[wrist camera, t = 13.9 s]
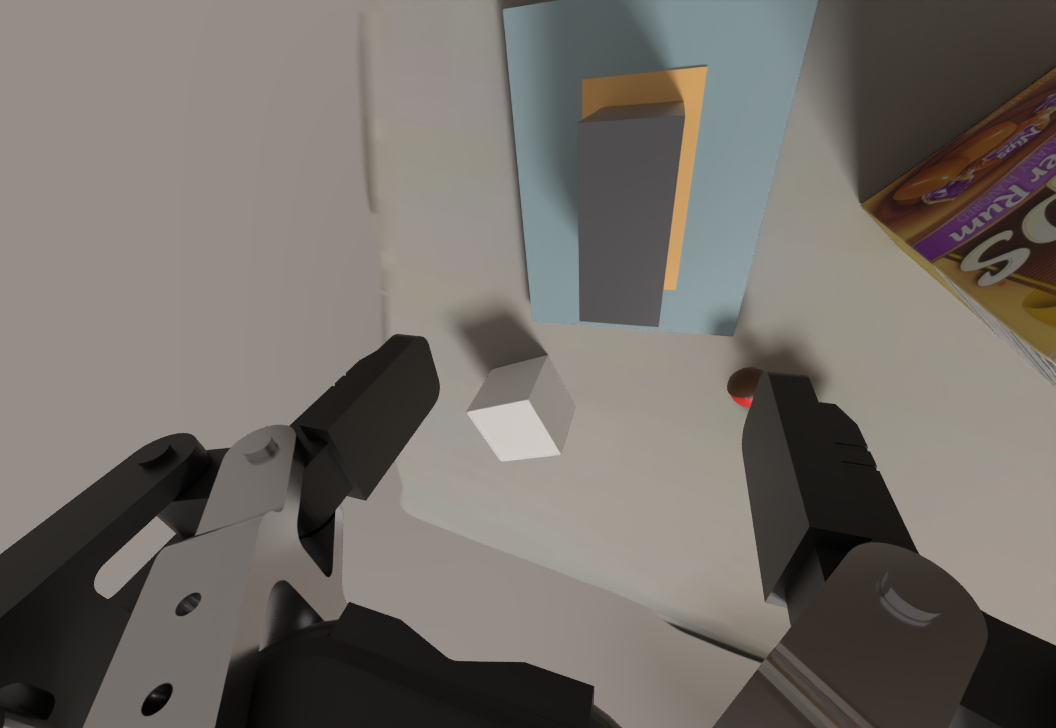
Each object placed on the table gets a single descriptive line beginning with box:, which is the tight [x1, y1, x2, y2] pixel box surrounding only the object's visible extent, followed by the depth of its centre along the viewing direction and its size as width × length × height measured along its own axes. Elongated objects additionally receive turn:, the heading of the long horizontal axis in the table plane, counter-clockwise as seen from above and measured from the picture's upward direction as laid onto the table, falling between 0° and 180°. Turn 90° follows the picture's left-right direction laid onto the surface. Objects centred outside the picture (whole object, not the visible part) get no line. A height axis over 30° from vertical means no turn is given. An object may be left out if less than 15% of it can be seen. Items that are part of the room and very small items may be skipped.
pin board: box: [503, 0, 818, 336], centre depth 23 cm, size 14×18×4 cm
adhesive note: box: [466, 355, 576, 462], centre depth 34 cm, size 6×6×6 cm
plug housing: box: [577, 101, 685, 327], centre depth 20 cm, size 4×9×7 cm, turn 5°
